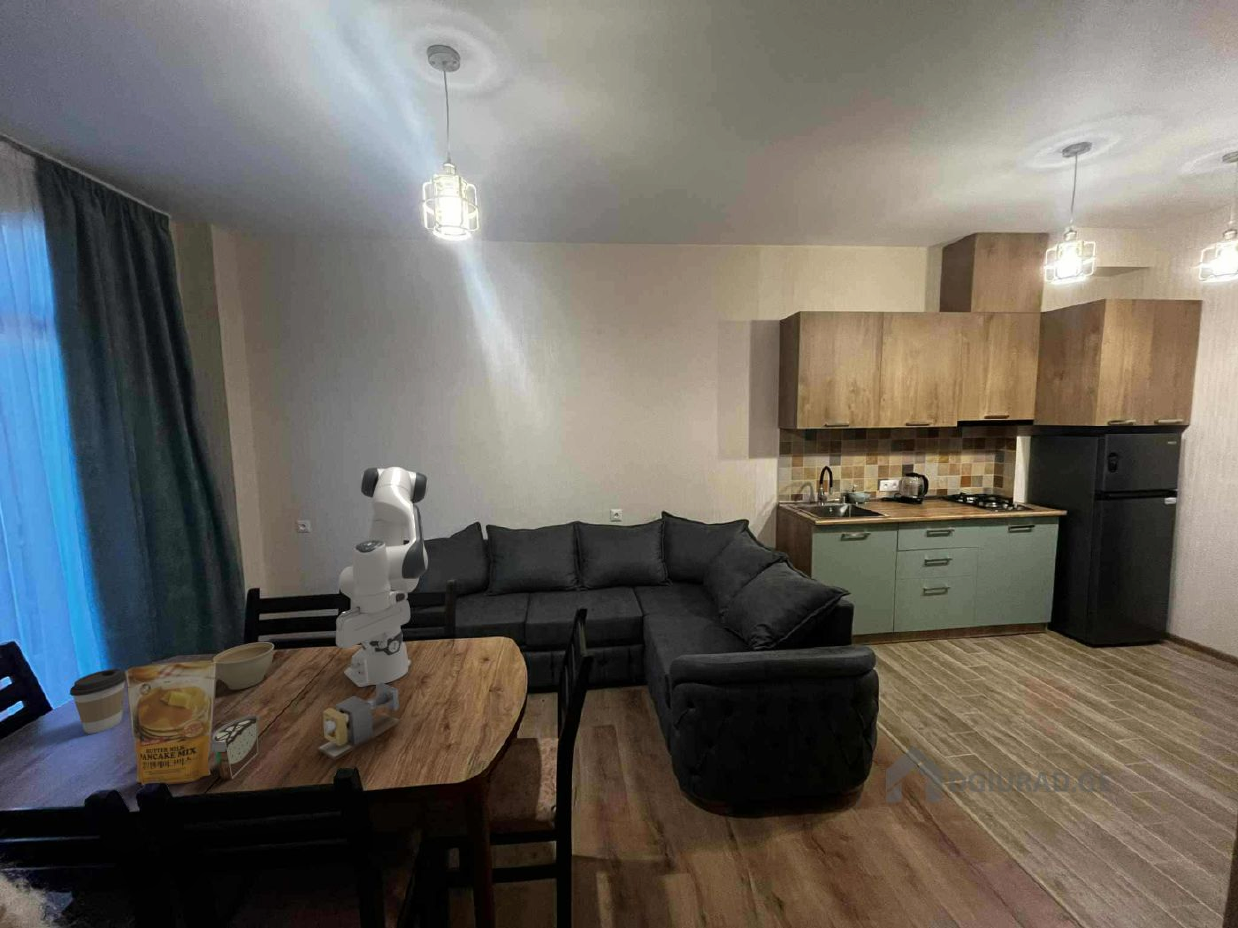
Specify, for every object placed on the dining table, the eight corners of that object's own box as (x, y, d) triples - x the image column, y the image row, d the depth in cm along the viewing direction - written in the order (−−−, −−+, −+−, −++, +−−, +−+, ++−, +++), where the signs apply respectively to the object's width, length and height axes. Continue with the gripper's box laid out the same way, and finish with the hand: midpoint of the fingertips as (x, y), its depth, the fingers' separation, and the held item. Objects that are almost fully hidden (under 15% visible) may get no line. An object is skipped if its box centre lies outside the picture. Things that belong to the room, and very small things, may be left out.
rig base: (318, 750, 125) (318, 747, 124) (383, 714, 140) (382, 711, 140) (335, 760, 120) (335, 756, 120) (399, 722, 136) (399, 719, 136)
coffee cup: (140, 718, 142) (135, 669, 141) (87, 741, 132) (82, 689, 131) (117, 712, 146) (112, 664, 145) (64, 734, 135) (59, 683, 134)
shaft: (319, 733, 125) (317, 713, 124) (382, 700, 140) (380, 682, 139) (336, 743, 121) (334, 722, 120) (398, 708, 136) (397, 689, 135)
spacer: (324, 737, 125) (322, 711, 125) (332, 733, 127) (330, 707, 127) (339, 746, 122) (337, 719, 121) (347, 741, 123) (345, 715, 123)
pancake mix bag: (147, 770, 119) (136, 661, 117) (228, 762, 121) (219, 655, 119) (121, 790, 112) (110, 675, 111) (208, 781, 114) (198, 668, 113)
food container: (237, 751, 125) (233, 715, 125) (261, 749, 126) (258, 713, 125) (199, 785, 113) (196, 745, 112) (227, 783, 113) (223, 743, 113)
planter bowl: (275, 684, 159) (272, 653, 159) (212, 701, 150) (209, 668, 150) (277, 666, 173) (274, 637, 172) (219, 680, 164) (216, 649, 163)
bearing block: (338, 739, 129) (335, 704, 128) (356, 729, 133) (353, 695, 132) (354, 748, 125) (352, 712, 124) (373, 738, 129) (370, 703, 128)
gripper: (343, 616, 119) (347, 669, 120) (412, 591, 137) (415, 637, 138) (328, 612, 122) (332, 665, 123) (397, 588, 140) (400, 634, 141)
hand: (376, 650), depth 130 cm, fingers open, 2 cm apart
